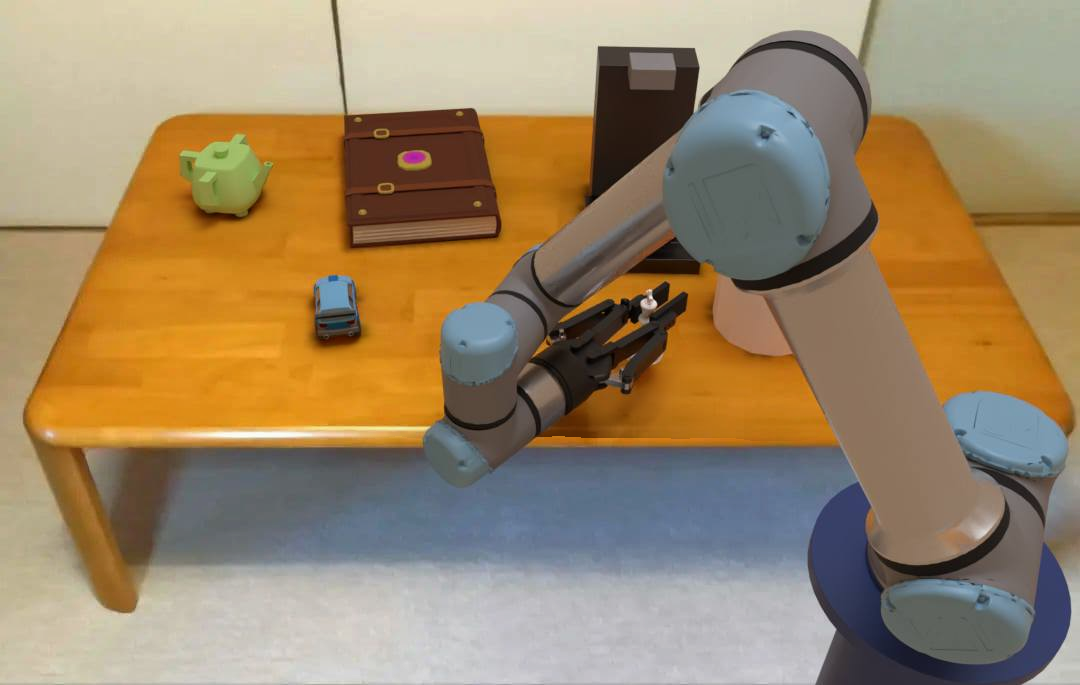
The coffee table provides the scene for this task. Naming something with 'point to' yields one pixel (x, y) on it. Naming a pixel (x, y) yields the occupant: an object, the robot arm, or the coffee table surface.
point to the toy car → (336, 307)
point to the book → (418, 178)
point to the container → (747, 320)
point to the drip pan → (663, 256)
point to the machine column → (638, 106)
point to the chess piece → (647, 314)
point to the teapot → (225, 176)
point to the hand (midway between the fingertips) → (675, 296)
